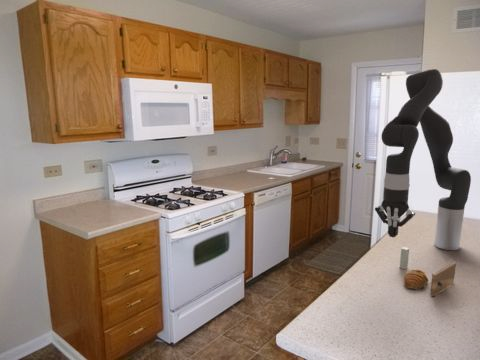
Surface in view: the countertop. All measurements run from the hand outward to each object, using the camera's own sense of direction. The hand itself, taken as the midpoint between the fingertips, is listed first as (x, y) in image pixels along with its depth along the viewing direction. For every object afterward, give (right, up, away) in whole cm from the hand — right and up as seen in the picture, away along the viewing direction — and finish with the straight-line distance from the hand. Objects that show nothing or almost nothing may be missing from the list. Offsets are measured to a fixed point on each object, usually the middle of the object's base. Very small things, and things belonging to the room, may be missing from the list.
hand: (392, 236), depth 119 cm
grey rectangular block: (+14, -14, +5) cm, 20 cm away
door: (+14, -16, -6) cm, 22 cm away
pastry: (+7, -16, -1) cm, 17 cm away
